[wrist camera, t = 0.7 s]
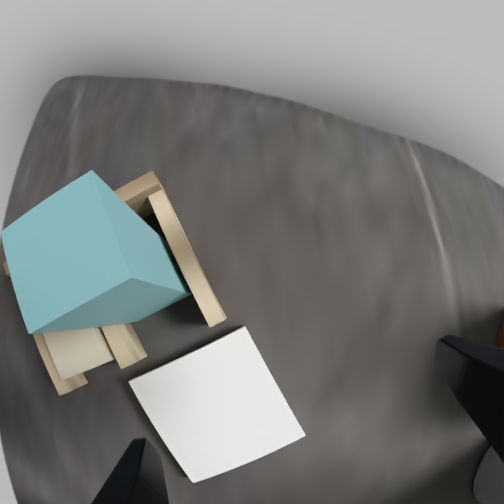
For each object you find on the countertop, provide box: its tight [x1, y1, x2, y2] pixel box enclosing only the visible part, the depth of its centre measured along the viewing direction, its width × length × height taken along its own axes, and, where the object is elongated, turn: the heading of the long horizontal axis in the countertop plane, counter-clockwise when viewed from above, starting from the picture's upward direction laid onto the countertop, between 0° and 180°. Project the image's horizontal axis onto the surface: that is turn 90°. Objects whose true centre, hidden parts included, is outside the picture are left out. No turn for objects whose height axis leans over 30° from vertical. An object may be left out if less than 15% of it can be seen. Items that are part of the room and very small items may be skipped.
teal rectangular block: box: [1, 170, 191, 334], centre depth 15 cm, size 4×4×12 cm
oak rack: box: [3, 171, 227, 395], centre depth 19 cm, size 10×13×4 cm
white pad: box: [129, 326, 306, 483], centre depth 19 cm, size 9×9×1 cm
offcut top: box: [43, 327, 116, 380], centre depth 18 cm, size 7×4×2 cm, turn 26°
